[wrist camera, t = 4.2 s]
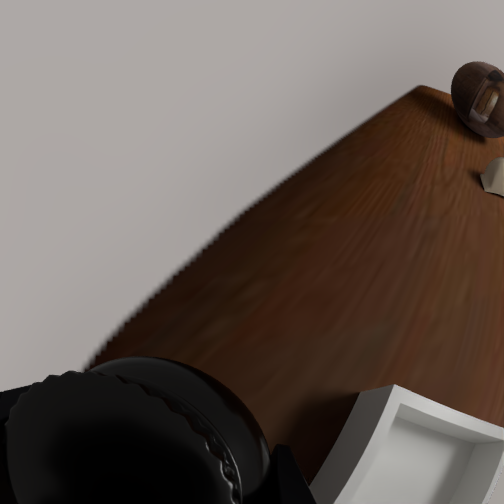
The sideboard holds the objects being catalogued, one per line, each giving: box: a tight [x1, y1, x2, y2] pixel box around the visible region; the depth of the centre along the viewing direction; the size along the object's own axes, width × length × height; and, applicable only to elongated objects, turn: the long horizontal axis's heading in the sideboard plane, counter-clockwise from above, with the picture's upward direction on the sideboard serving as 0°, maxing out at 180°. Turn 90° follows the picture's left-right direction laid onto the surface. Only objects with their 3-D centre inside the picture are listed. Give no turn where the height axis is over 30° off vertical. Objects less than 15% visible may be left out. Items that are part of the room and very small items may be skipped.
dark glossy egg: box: [451, 62, 504, 138], centre depth 32 cm, size 15×15×15 cm
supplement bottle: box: [2, 356, 272, 504], centre depth 8 cm, size 7×7×12 cm
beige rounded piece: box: [480, 157, 504, 196], centre depth 27 cm, size 4×8×5 cm, turn 84°
